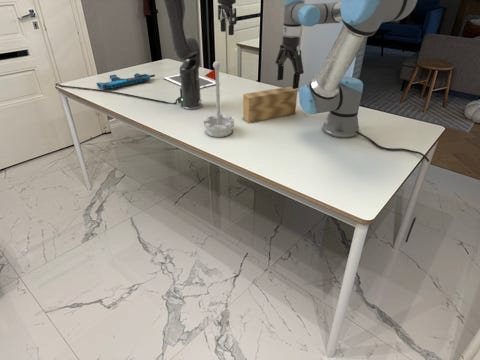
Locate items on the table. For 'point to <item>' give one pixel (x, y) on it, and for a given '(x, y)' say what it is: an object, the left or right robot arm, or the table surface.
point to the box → (269, 104)
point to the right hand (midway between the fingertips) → (287, 84)
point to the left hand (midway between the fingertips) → (227, 33)
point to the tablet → (203, 81)
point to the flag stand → (218, 111)
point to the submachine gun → (124, 81)
